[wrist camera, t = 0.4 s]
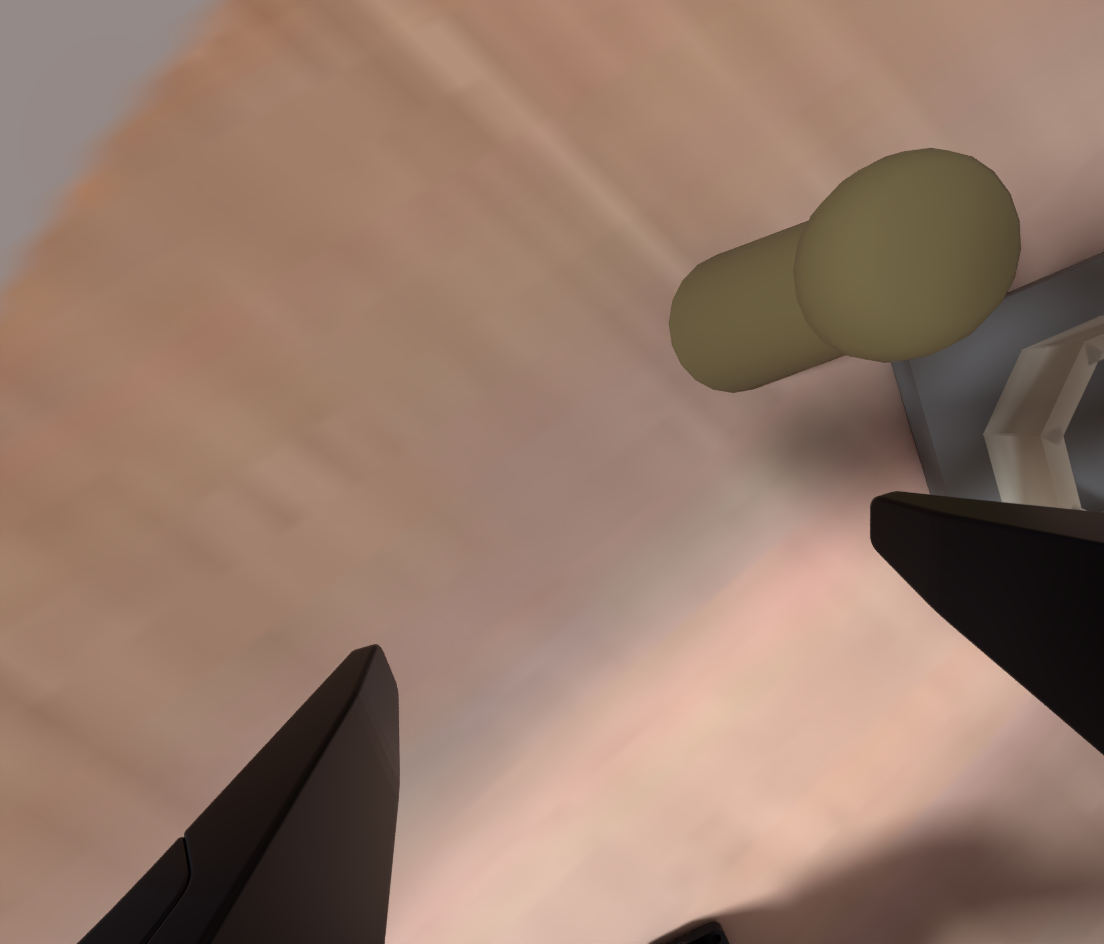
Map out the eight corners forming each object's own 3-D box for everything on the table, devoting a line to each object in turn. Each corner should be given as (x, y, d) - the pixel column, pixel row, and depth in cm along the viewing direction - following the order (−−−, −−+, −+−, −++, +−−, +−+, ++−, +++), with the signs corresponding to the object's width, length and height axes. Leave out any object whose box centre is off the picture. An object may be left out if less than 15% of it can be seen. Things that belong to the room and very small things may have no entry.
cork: (752, 223, 23) (998, 46, 12) (823, 339, 24) (1110, 274, 13) (642, 306, 22) (789, 202, 12) (718, 419, 23) (920, 422, 12)
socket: (1216, 511, 27) (1322, 525, 24) (970, 628, 26) (1044, 661, 23) (1157, 229, 25) (1264, 199, 22) (886, 344, 24) (953, 332, 20)
